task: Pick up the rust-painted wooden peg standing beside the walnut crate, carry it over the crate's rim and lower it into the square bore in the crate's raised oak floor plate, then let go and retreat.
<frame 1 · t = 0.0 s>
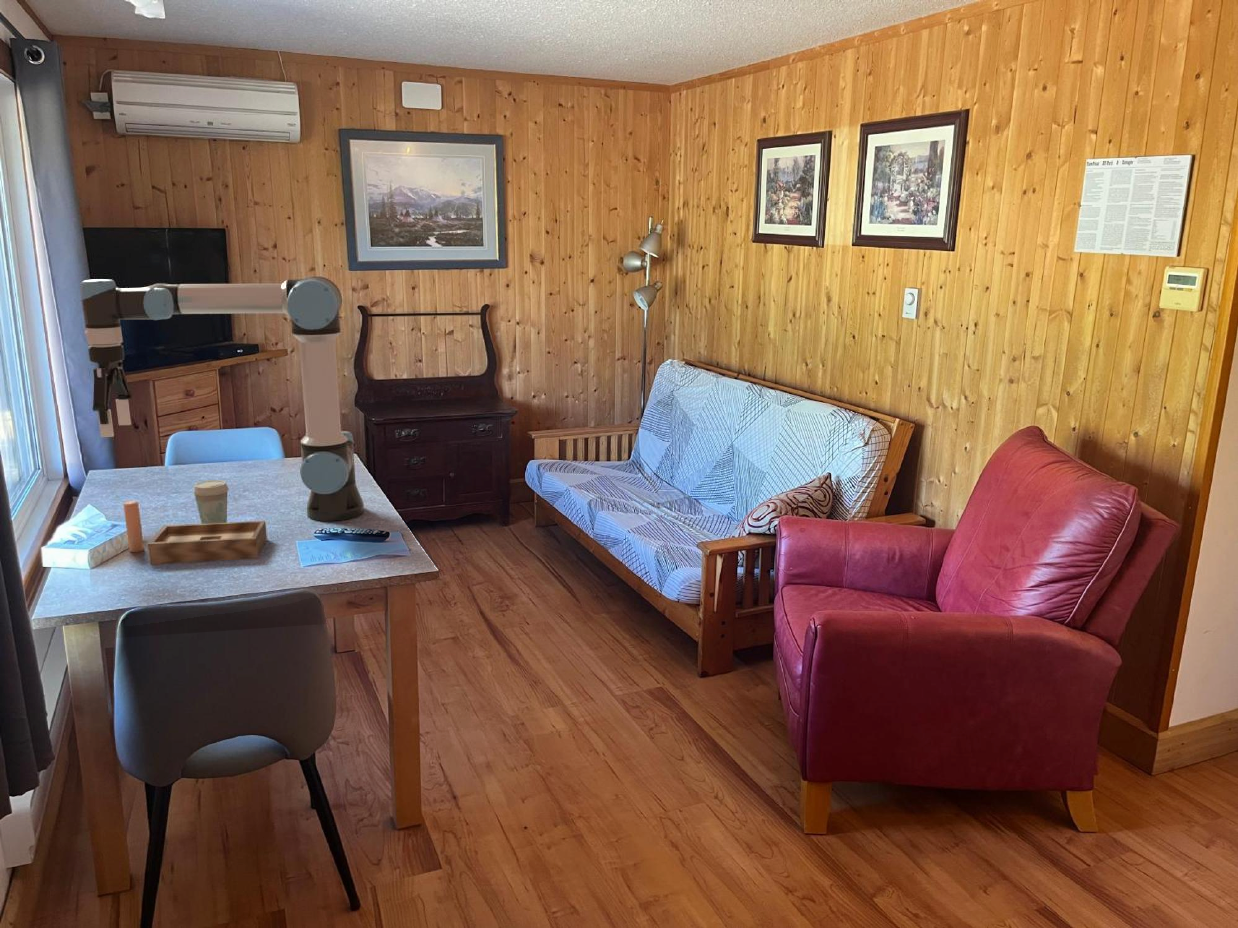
hand: (116, 430, 235), 28 cm above the table, fingers open, 13 cm apart
peg: (136, 549, 234), on the table
crate: (210, 551, 233), on the table
coffee cup: (214, 528, 251), on the table
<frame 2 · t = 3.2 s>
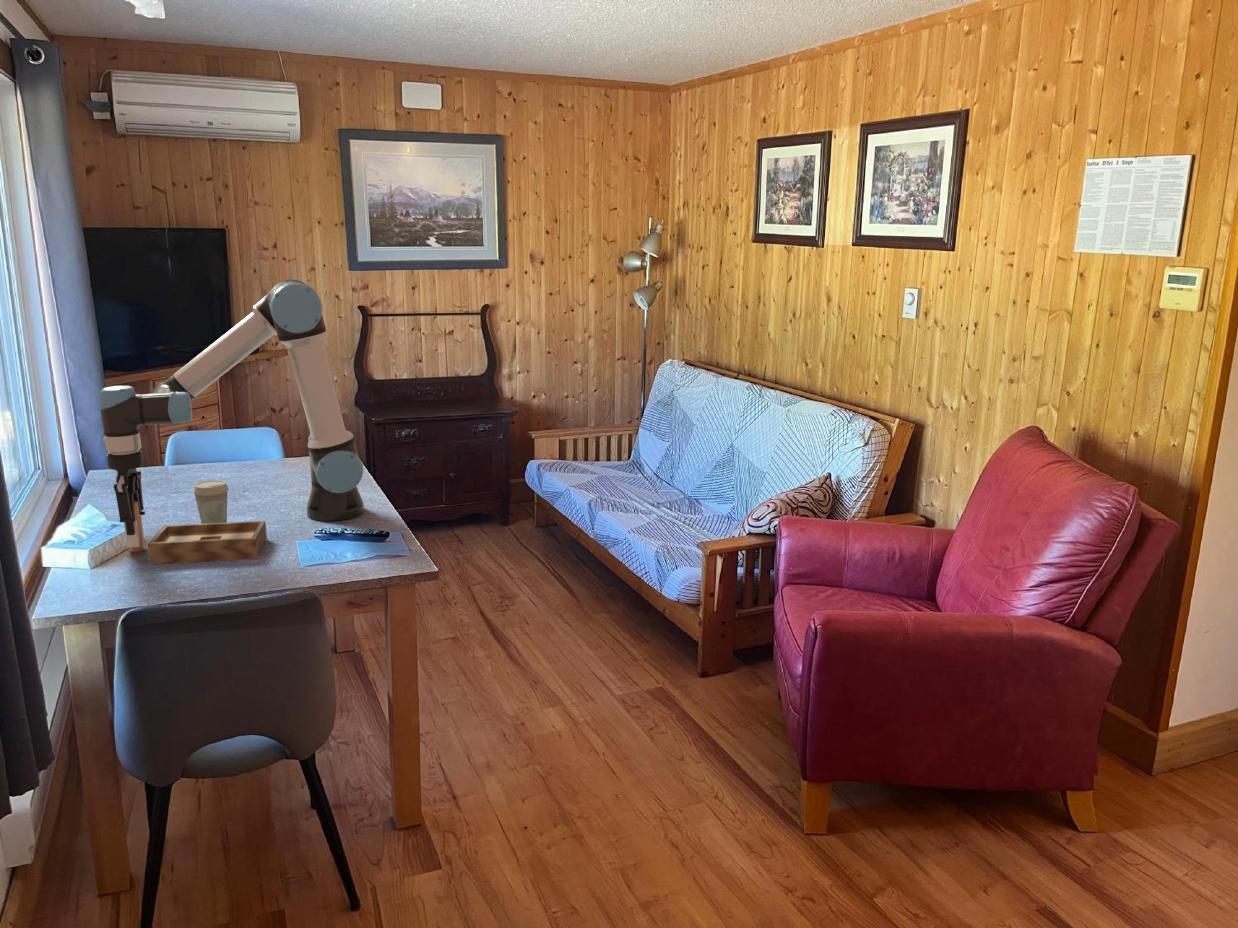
hand: (135, 543, 233), 2 cm above the table, fingers closed on peg, 3 cm apart
peg: (136, 549, 234), on the table, touching gripper
everything else where it was.
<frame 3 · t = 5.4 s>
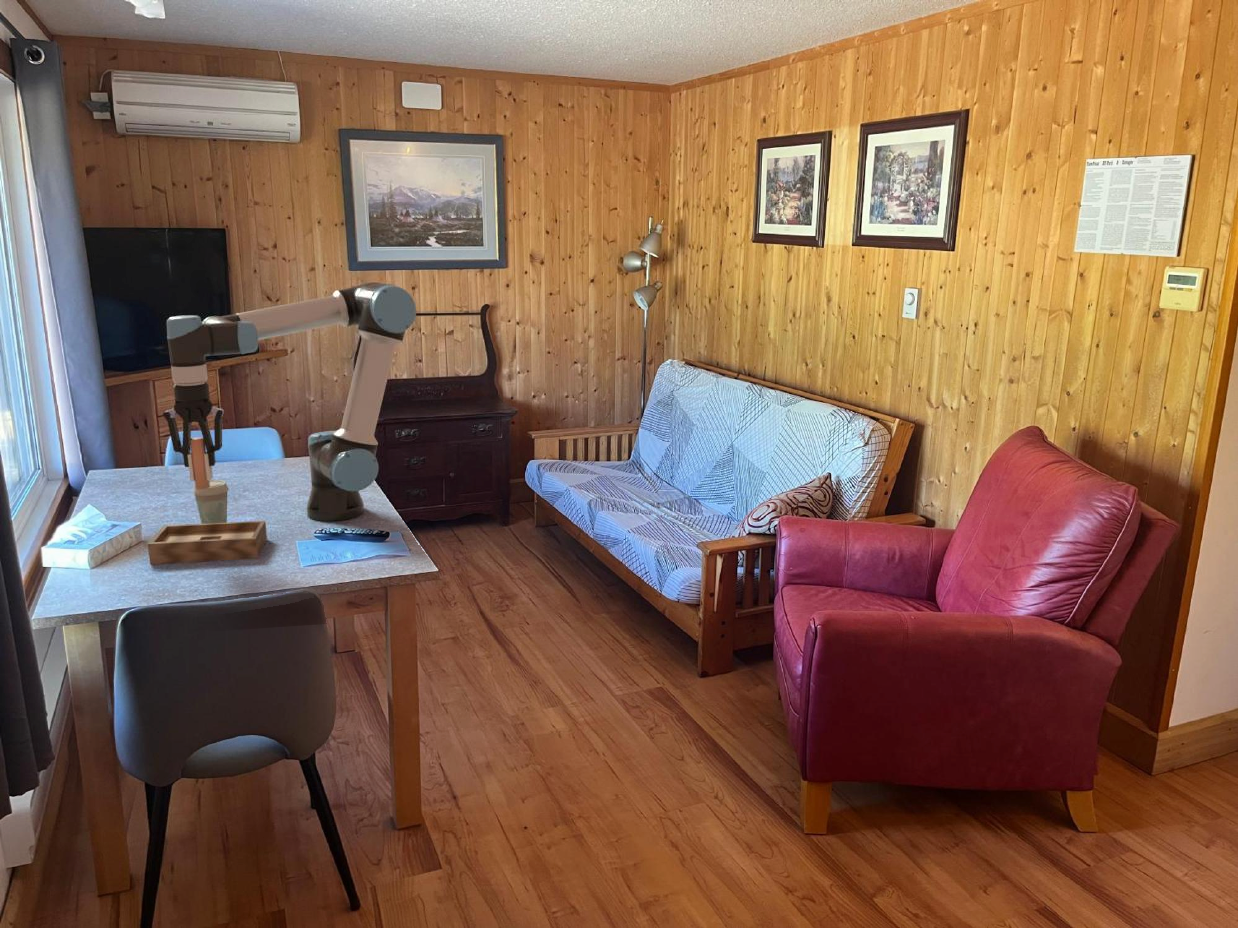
hand: (201, 479, 229), 18 cm above the table, fingers closed on peg, 3 cm apart
peg: (202, 487, 229), point 16 cm above the table, touching gripper
everything else where it was.
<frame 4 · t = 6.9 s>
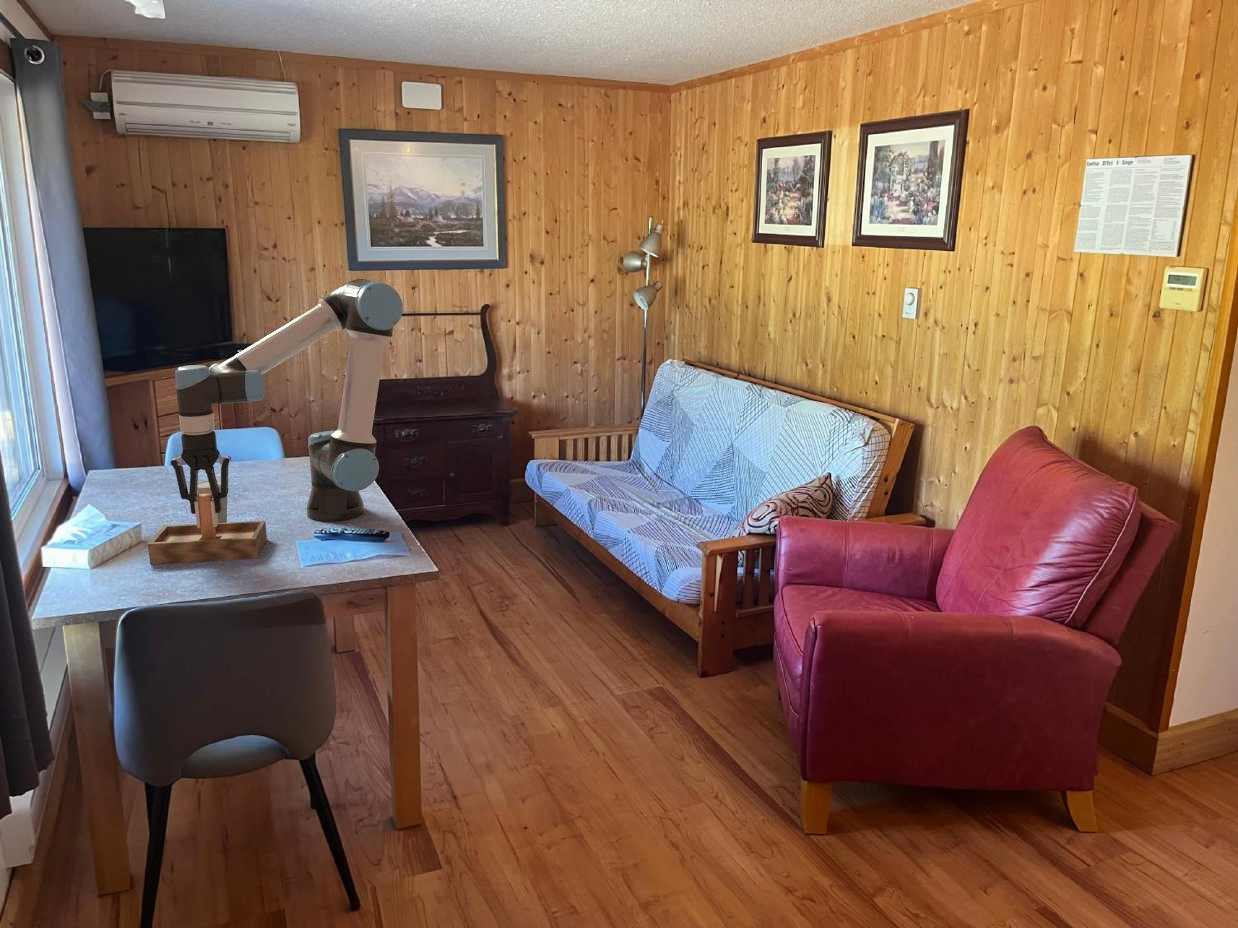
hand: (207, 525, 231), 7 cm above the table, fingers closed on peg, 3 cm apart
peg: (209, 542, 232), point 2 cm above the table, touching gripper
everything else where it was.
when the fingers open (4 cm above the table, at t = 7.7 s): peg stays where it is, resting in crate.
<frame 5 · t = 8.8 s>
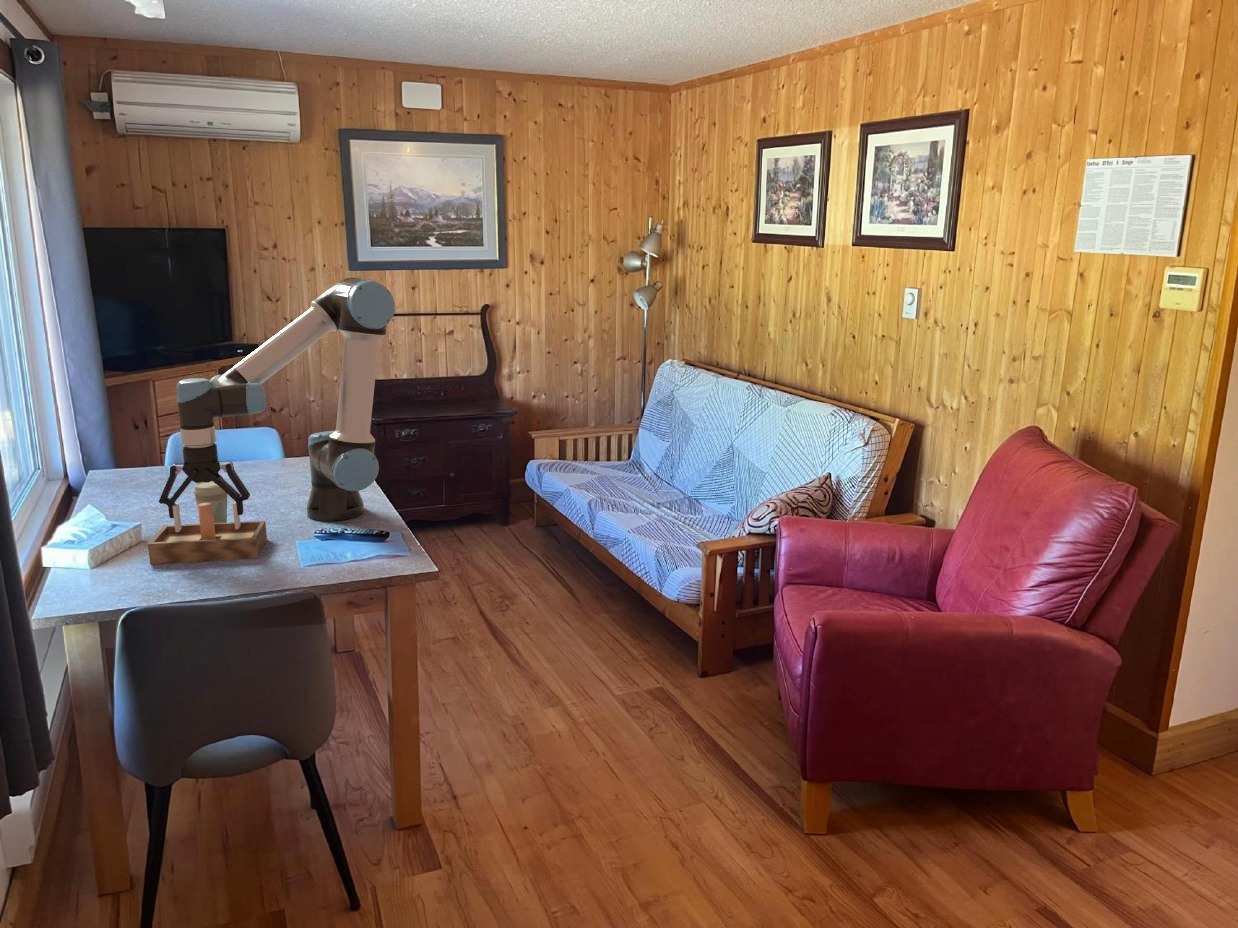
hand: (208, 529, 232), 6 cm above the table, fingers open, 13 cm apart
peg: (209, 551, 233), resting in crate
everything else where it was.
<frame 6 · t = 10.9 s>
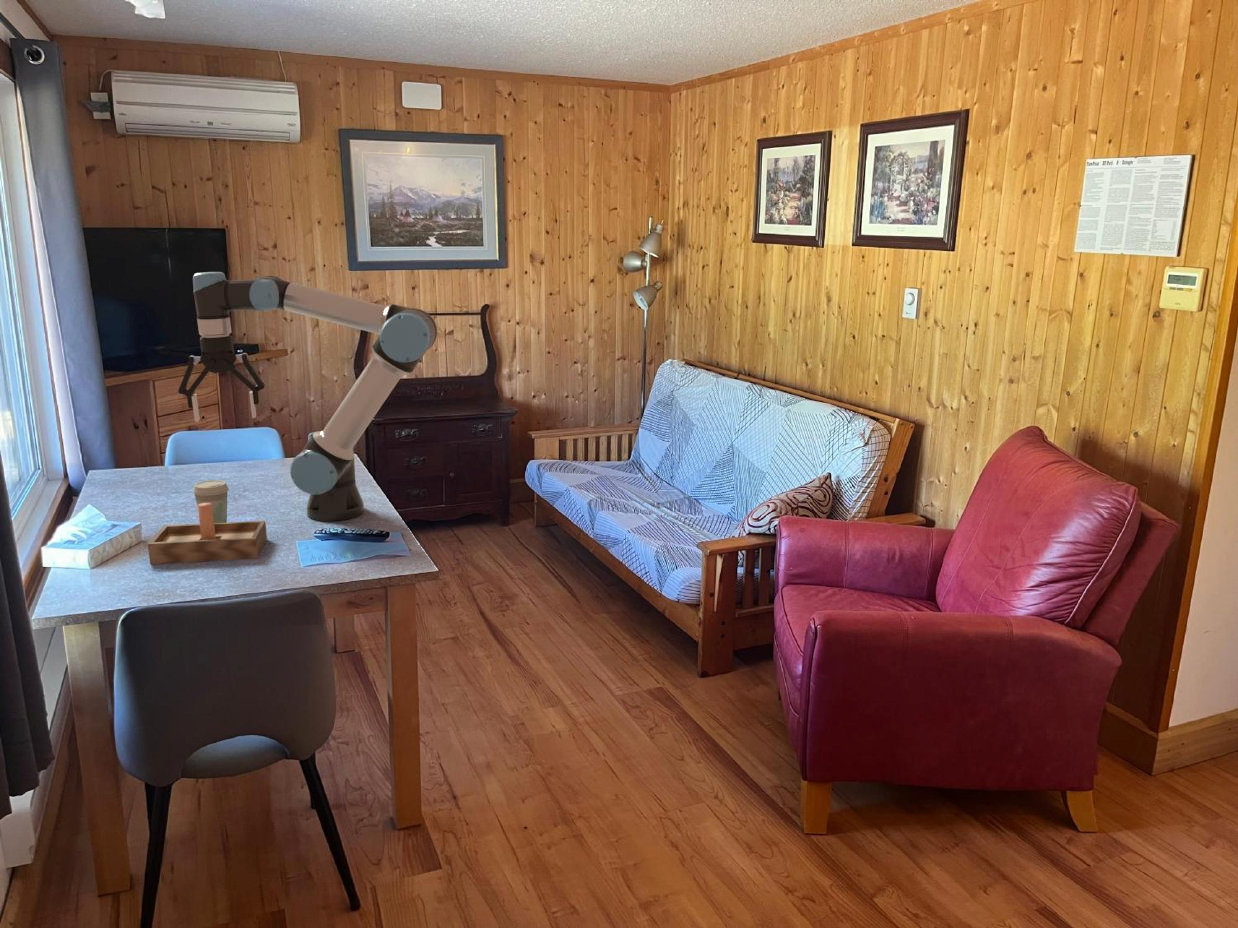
hand: (226, 419, 242), 29 cm above the table, fingers open, 13 cm apart
nothing on the table moved.
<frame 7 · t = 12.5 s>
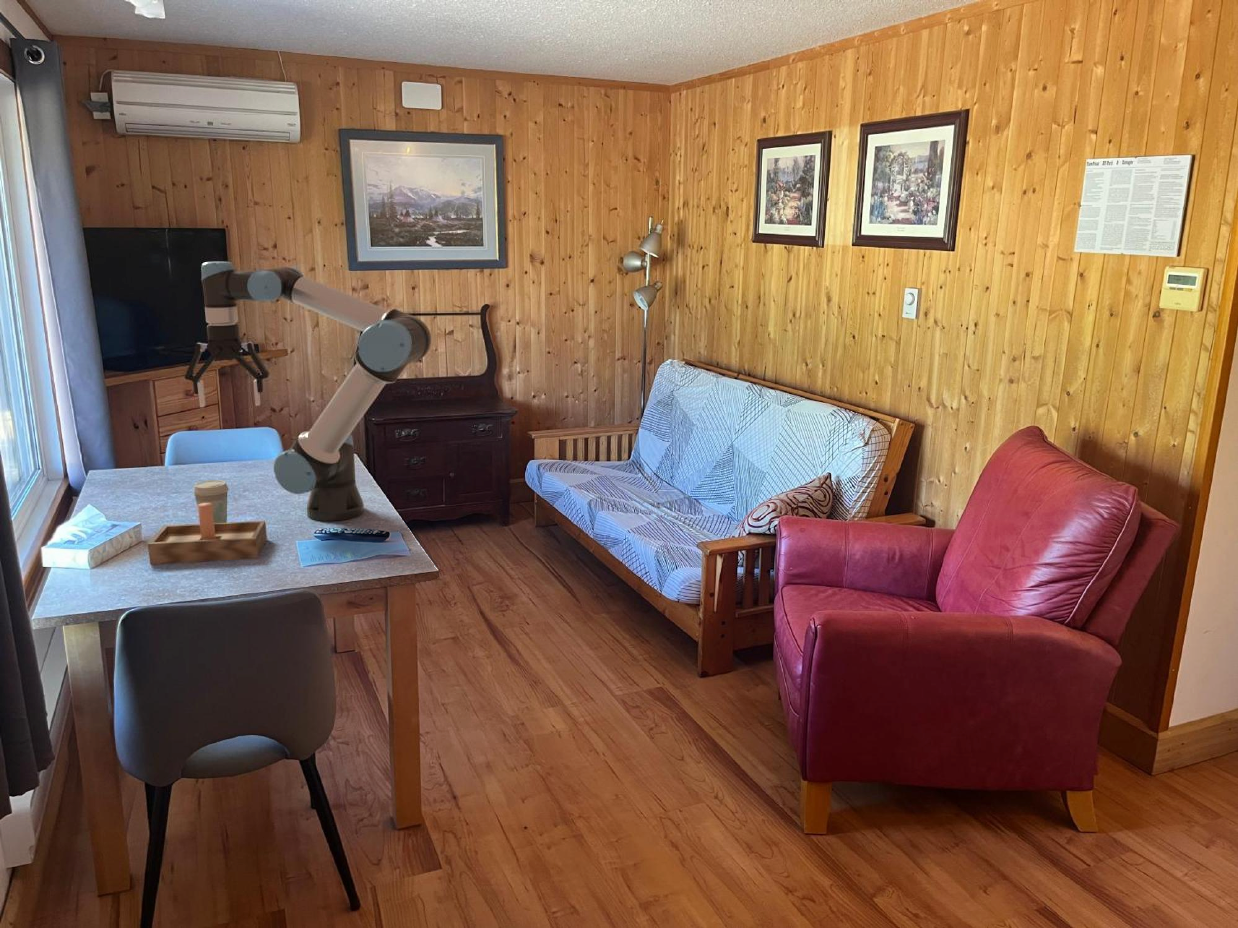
hand: (230, 405, 247), 32 cm above the table, fingers open, 13 cm apart
nothing on the table moved.
at the end: peg 0.2 cm off-centre on the crate, point 0.0 cm above the crate's base; peg tilted 0°; the gripper is holding nothing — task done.
